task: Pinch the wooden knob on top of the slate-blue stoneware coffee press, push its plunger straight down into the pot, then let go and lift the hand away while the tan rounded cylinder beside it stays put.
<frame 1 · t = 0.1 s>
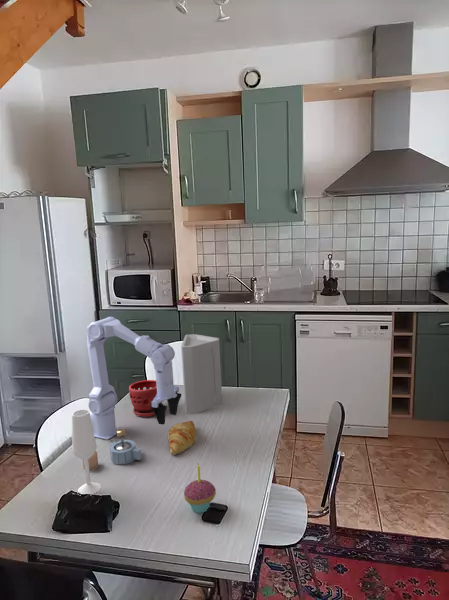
hand: (167, 419, 150), 10 cm above the table, tool pointing down, fingers open, 7 cm apart
plunger: (122, 439, 145), point 7 cm above the table, slide at 0.0 cm
tan rounded cylinder: (91, 466, 142), on the table
champagne flute: (89, 489, 130), on the table
grey tall triangular prism: (204, 404, 187), on the table
press pot: (123, 457, 146), on the table
plant pot: (147, 412, 181), on the table
cupcake: (201, 508, 119), on the table
croissant: (182, 442, 155), on the table
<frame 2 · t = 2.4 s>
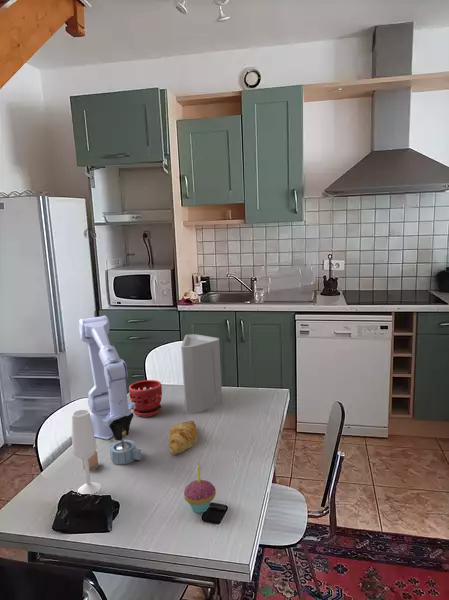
hand: (122, 437, 145), 7 cm above the table, tool pointing down, fingers closed on plunger, 3 cm apart
plunger: (122, 439, 145), point 7 cm above the table, slide at 0.0 cm, touching gripper
everything else where it was.
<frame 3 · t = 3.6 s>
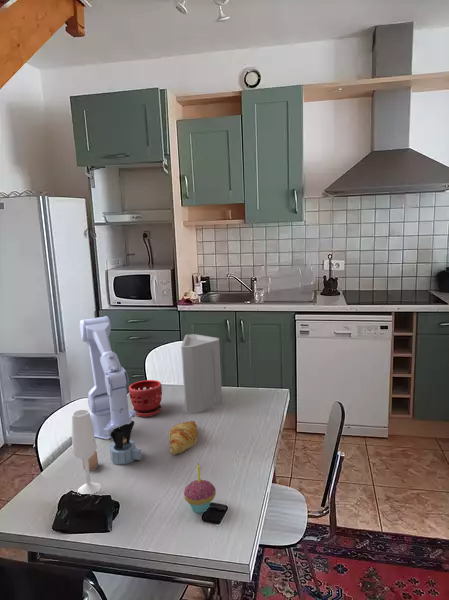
hand: (122, 445, 145), 4 cm above the table, tool pointing down, fingers closed on plunger, 3 cm apart
plunger: (122, 447, 145), point 4 cm above the table, slide at 2.9 cm, touching gripper
everything else where it was.
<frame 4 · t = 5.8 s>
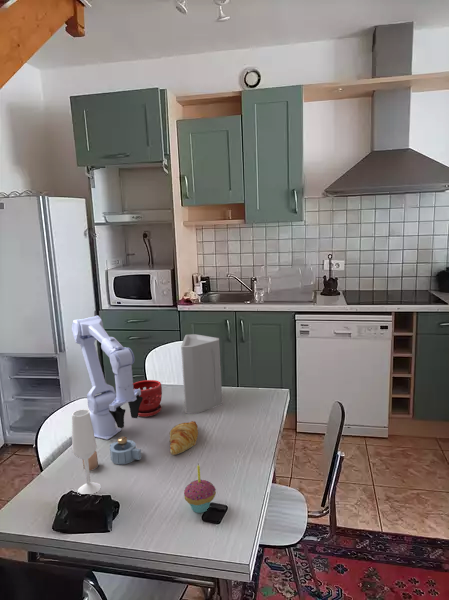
hand: (127, 422, 149), 10 cm above the table, tool pointing down, fingers open, 7 cm apart
plunger: (122, 447, 145), point 4 cm above the table, slide at 2.9 cm
everything else where it was.
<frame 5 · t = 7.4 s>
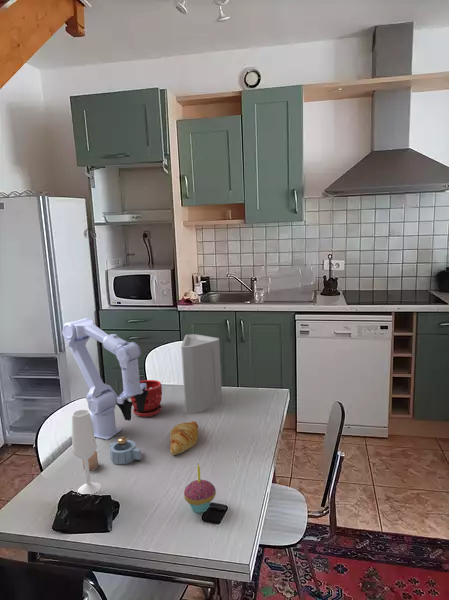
hand: (134, 415, 154), 10 cm above the table, tool pointing down, fingers open, 7 cm apart
nothing on the table moved.
at the end: plunger slide at 2.9 cm; the gripper is holding nothing; tan rounded cylinder moved 0.0 cm from its start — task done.
